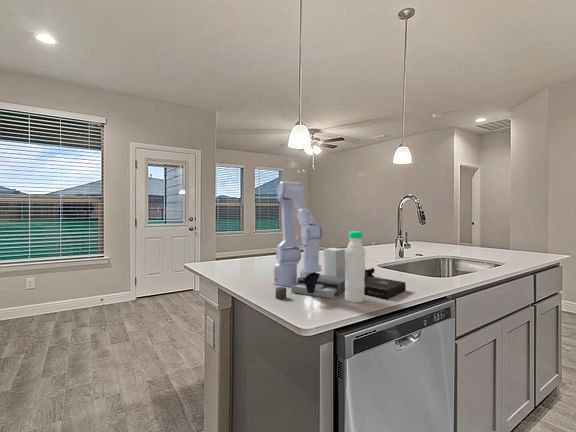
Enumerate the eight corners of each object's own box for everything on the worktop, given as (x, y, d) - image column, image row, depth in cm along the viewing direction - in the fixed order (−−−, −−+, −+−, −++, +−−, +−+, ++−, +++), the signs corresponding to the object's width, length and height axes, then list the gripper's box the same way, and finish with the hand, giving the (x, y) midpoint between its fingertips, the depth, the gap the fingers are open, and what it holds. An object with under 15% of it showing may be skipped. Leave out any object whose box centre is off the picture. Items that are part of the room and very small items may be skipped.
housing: (297, 289, 130) (297, 278, 129) (308, 283, 139) (308, 273, 139) (339, 295, 121) (339, 283, 121) (348, 288, 131) (348, 278, 131)
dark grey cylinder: (273, 298, 117) (273, 288, 117) (278, 295, 120) (278, 286, 120) (283, 299, 115) (283, 290, 115) (288, 297, 118) (288, 287, 118)
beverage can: (374, 285, 142) (351, 281, 151) (375, 267, 144) (352, 265, 152) (364, 285, 136) (340, 281, 144) (365, 266, 137) (342, 264, 145)
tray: (291, 291, 125) (291, 285, 124) (302, 285, 134) (303, 280, 134) (333, 298, 116) (333, 292, 116) (343, 291, 126) (343, 285, 125)
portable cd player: (405, 291, 128) (405, 282, 128) (386, 301, 116) (387, 290, 116) (368, 284, 140) (368, 275, 139) (347, 292, 127) (348, 282, 127)
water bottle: (342, 297, 118) (343, 230, 117) (360, 297, 119) (362, 230, 118) (347, 303, 111) (348, 232, 110) (367, 303, 112) (368, 232, 111)
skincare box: (346, 282, 141) (346, 249, 140) (335, 284, 137) (336, 250, 137) (333, 278, 148) (333, 247, 147) (323, 280, 144) (323, 247, 144)
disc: (307, 289, 123) (307, 284, 123) (313, 286, 128) (313, 281, 128) (320, 291, 121) (320, 286, 121) (325, 288, 125) (326, 283, 125)
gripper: (313, 260, 111) (312, 299, 111) (328, 255, 123) (327, 289, 124) (295, 259, 114) (294, 296, 115) (311, 253, 127) (311, 287, 127)
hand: (310, 292), depth 119 cm, fingers closed
